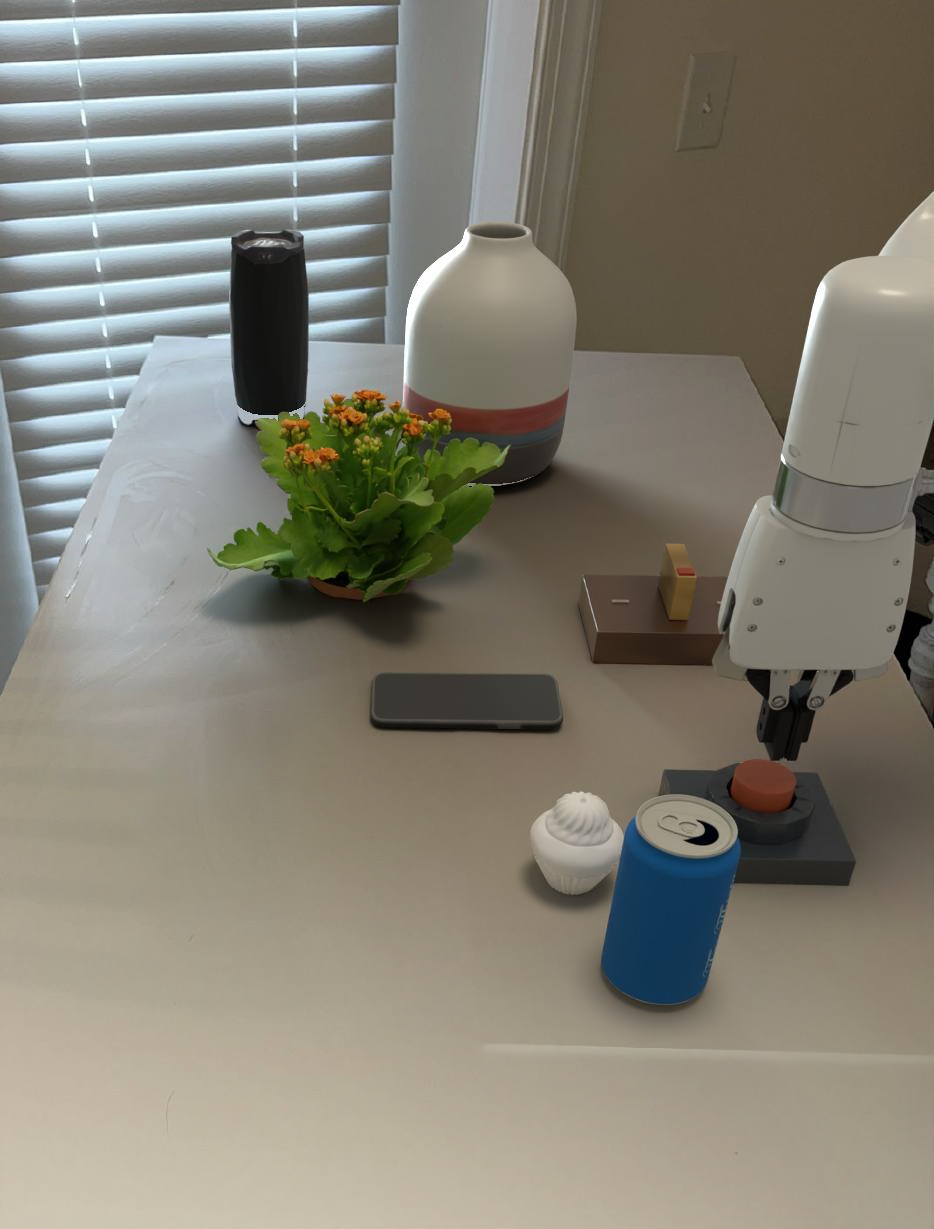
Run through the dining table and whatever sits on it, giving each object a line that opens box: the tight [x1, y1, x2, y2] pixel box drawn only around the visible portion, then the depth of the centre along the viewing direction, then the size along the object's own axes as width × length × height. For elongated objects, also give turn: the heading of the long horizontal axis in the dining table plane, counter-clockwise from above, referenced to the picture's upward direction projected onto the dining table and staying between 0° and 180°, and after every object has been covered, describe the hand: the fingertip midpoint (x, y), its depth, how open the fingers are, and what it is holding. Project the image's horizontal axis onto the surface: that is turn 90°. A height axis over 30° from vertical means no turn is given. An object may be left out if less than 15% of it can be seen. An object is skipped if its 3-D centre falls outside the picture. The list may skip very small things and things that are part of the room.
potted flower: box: [206, 389, 511, 603], centre depth 119 cm, size 25×24×18 cm
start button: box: [730, 758, 796, 813], centre depth 91 cm, size 4×4×2 cm
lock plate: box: [578, 574, 734, 666], centre depth 114 cm, size 14×10×3 cm
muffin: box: [529, 790, 625, 896], centre depth 88 cm, size 6×6×7 cm
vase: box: [402, 221, 578, 484], centre depth 136 cm, size 17×17×24 cm
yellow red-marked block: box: [658, 543, 697, 620], centre depth 112 cm, size 6×2×4 cm, turn 177°
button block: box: [658, 762, 857, 887], centre depth 92 cm, size 11×10×4 cm
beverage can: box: [600, 794, 741, 1006], centre depth 79 cm, size 6×6×12 cm
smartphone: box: [369, 671, 564, 730], centre depth 106 cm, size 7×1×15 cm
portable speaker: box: [228, 229, 310, 415], centre depth 148 cm, size 9×9×20 cm
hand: (778, 748), depth 89 cm, fingers closed
